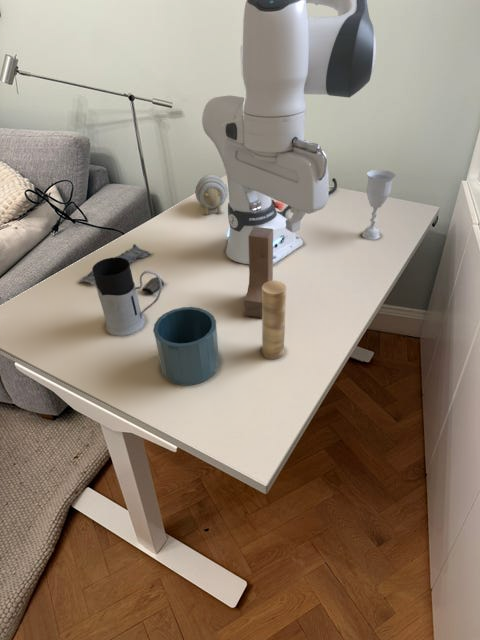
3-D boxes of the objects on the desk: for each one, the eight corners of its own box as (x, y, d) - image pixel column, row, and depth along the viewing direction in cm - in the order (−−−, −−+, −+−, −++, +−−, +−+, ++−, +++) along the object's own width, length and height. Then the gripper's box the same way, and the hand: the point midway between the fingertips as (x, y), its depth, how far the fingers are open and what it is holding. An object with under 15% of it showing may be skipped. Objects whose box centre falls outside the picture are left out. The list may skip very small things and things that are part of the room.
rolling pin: (273, 341, 92) (274, 277, 82) (288, 352, 89) (291, 287, 79) (257, 351, 90) (257, 286, 80) (272, 362, 87) (273, 296, 77)
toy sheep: (199, 220, 139) (196, 187, 132) (194, 200, 152) (191, 168, 145) (232, 217, 140) (230, 183, 133) (224, 197, 153) (222, 165, 146)
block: (142, 293, 108) (140, 287, 106) (153, 280, 112) (151, 274, 111) (155, 295, 107) (154, 289, 105) (165, 282, 111) (164, 276, 110)
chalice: (356, 238, 126) (364, 177, 114) (360, 228, 131) (369, 168, 119) (382, 242, 123) (393, 180, 112) (385, 232, 128) (396, 171, 117)
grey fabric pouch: (92, 289, 110) (90, 282, 109) (75, 280, 113) (73, 274, 112) (151, 255, 123) (150, 248, 122) (135, 248, 126) (133, 242, 125)
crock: (198, 337, 94) (193, 299, 87) (230, 366, 86) (228, 327, 80) (151, 361, 88) (142, 323, 82) (181, 394, 81) (174, 355, 75)
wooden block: (263, 318, 98) (263, 248, 87) (244, 315, 99) (241, 245, 88) (272, 296, 105) (273, 228, 93) (254, 293, 106) (253, 226, 95)
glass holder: (111, 311, 102) (96, 256, 93) (171, 311, 101) (162, 255, 92) (100, 336, 95) (83, 278, 86) (165, 335, 95) (154, 277, 85)
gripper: (344, 141, 57) (333, 236, 66) (247, 115, 70) (249, 197, 79) (310, 152, 54) (304, 250, 63) (215, 122, 67) (221, 207, 76)
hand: (272, 220), depth 71 cm, fingers open, 8 cm apart
